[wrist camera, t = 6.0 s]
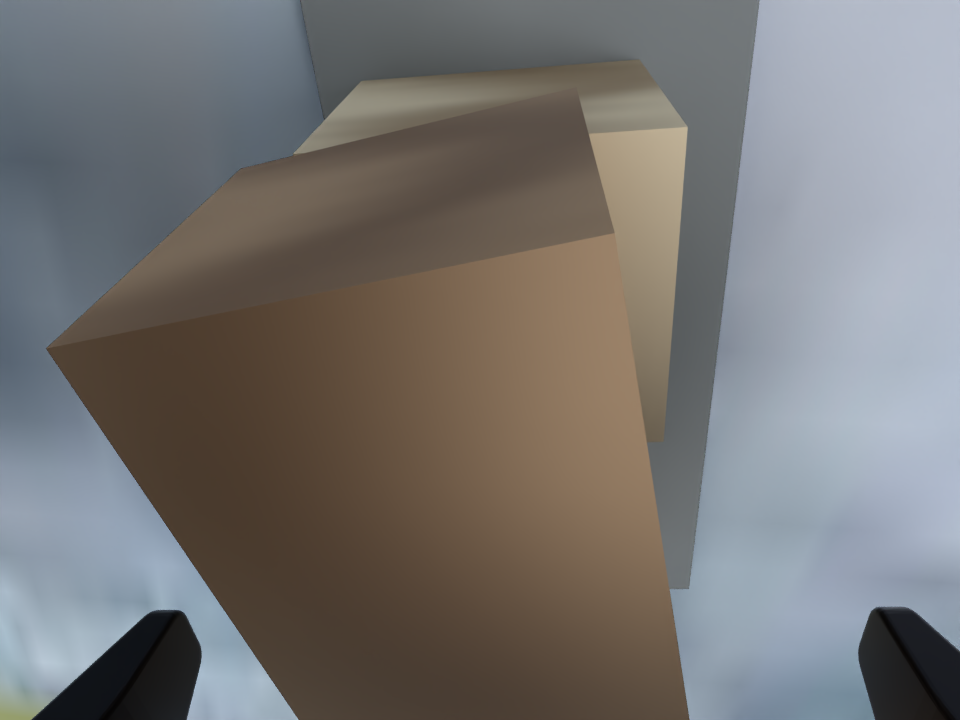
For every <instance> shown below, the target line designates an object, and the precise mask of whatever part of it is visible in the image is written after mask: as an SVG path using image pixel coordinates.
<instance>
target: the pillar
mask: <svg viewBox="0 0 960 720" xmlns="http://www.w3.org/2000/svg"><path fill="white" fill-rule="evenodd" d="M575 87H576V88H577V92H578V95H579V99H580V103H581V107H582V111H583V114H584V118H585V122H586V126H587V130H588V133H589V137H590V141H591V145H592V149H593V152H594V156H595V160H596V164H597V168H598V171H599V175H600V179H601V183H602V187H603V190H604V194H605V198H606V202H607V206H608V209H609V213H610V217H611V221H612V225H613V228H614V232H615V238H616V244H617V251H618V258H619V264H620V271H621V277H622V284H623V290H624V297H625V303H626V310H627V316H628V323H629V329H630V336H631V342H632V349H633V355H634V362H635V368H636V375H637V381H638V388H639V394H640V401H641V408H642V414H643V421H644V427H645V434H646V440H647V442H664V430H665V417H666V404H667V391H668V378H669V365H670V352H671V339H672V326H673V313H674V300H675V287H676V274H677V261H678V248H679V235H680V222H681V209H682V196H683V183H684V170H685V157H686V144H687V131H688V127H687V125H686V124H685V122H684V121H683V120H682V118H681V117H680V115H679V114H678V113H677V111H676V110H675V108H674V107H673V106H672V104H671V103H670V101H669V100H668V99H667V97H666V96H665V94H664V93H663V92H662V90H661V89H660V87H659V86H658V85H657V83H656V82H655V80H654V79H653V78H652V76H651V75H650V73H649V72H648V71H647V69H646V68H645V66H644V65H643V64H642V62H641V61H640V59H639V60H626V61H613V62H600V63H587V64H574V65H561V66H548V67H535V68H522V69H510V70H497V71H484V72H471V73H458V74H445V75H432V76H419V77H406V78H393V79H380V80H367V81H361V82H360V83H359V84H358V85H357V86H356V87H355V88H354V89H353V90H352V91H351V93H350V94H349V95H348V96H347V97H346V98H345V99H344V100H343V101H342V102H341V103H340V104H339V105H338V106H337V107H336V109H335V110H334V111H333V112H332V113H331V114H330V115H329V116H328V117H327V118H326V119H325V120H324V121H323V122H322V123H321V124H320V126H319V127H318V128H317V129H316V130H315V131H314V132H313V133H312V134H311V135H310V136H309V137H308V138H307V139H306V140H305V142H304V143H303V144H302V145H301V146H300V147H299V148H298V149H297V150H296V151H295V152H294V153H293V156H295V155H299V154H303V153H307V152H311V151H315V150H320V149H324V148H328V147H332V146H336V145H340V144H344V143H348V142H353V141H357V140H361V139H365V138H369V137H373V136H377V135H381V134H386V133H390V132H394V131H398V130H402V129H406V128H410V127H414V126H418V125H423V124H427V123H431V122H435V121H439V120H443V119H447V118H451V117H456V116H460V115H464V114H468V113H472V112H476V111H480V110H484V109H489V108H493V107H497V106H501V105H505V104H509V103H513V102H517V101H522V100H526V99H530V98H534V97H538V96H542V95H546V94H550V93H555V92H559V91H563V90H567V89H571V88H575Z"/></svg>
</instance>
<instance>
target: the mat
mask: <svg viewBox="0 0 960 720" xmlns="http://www.w3.org/2000/svg"><path fill="white" fill-rule="evenodd" d="M300 2H301V7H302V12H303V17H304V22H305V27H306V32H307V37H308V42H309V47H310V52H311V57H312V62H313V67H314V72H315V77H316V82H317V87H318V92H319V97H320V102H321V107H322V112H323V117H324V120H325V119H326V118H327V117H328V116H329V115H330V114H331V113H332V112H333V111H334V110H335V109H336V107H337V106H338V105H339V104H340V103H341V102H342V101H343V100H344V99H345V98H346V97H347V96H348V95H349V94H350V93H351V91H352V90H353V89H354V88H355V87H356V86H357V85H358V84H359V83H360V82H361V81H367V80H380V79H393V78H406V77H419V76H432V75H445V74H458V73H471V72H484V71H497V70H510V69H522V68H535V67H548V66H561V65H574V64H587V63H600V62H613V61H626V60H639V59H640V61H641V62H642V64H643V65H644V66H645V68H646V69H647V71H648V72H649V73H650V75H651V76H652V78H653V79H654V80H655V82H656V83H657V85H658V86H659V87H660V89H661V90H662V92H663V93H664V94H665V96H666V97H667V99H668V100H669V101H670V103H671V104H672V106H673V107H674V108H675V110H676V111H677V113H678V114H679V115H680V117H681V118H682V120H683V121H684V122H685V124H686V125H687V127H688V131H687V144H686V157H685V170H684V183H683V196H682V209H681V222H680V235H679V248H678V261H677V274H676V287H675V300H674V313H673V326H672V339H671V352H670V365H669V378H668V391H667V404H666V417H665V430H664V442H647V447H648V453H649V460H650V466H651V473H652V479H653V486H654V492H655V499H656V505H657V512H658V518H659V525H660V531H661V538H662V544H663V551H664V558H665V564H666V571H667V577H668V584H669V589H689V583H690V575H691V567H692V558H693V550H694V542H695V533H696V525H697V517H698V508H699V500H700V492H701V483H702V475H703V467H704V458H705V450H706V442H707V433H708V425H709V417H710V408H711V400H712V392H713V383H714V375H715V367H716V358H717V350H718V342H719V333H720V325H721V317H722V308H723V300H724V292H725V283H726V275H727V267H728V258H729V250H730V242H731V233H732V225H733V217H734V208H735V200H736V192H737V183H738V175H739V167H740V158H741V150H742V142H743V133H744V125H745V117H746V108H747V100H748V92H749V83H750V75H751V67H752V58H753V50H754V42H755V33H756V25H757V17H758V8H759V0H300Z"/></svg>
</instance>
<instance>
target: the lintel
mask: <svg viewBox="0 0 960 720" xmlns="http://www.w3.org/2000/svg"><path fill="white" fill-rule="evenodd" d="M46 349H47V351H48V352H49V354H50V355H51V357H52V358H53V360H54V361H55V363H56V364H57V365H58V367H59V368H60V370H61V371H62V373H63V374H64V376H65V377H66V379H67V380H68V382H69V383H70V385H71V386H72V387H73V389H74V390H75V392H76V393H77V395H78V396H79V398H80V399H81V401H82V402H83V404H84V405H85V407H86V408H87V410H88V411H89V412H90V414H91V415H92V417H93V418H94V420H95V421H96V423H97V424H98V426H99V427H100V429H101V430H102V432H103V433H104V434H105V436H106V437H107V439H108V440H109V442H110V443H111V445H112V446H113V448H114V449H115V451H116V452H117V454H118V455H119V457H120V458H121V459H122V461H123V462H124V464H125V465H126V467H127V468H128V470H129V471H130V473H131V474H132V476H133V477H134V479H135V480H136V481H137V483H138V484H139V486H140V487H141V489H142V490H143V492H144V493H145V495H146V496H147V498H148V499H149V501H150V502H151V503H152V505H153V506H154V508H155V509H156V511H157V512H158V514H159V515H160V517H161V518H162V520H163V521H164V523H165V524H166V526H167V527H168V528H169V530H170V531H171V533H172V534H173V536H174V537H175V539H176V540H177V542H178V543H179V545H180V546H181V548H182V549H183V550H184V552H185V553H186V555H187V556H188V558H189V559H190V561H191V562H192V564H193V565H194V567H195V568H196V570H197V571H198V573H199V574H200V575H201V577H202V578H203V580H204V581H205V583H206V584H207V586H208V587H209V589H210V590H211V592H212V593H213V595H214V596H215V597H216V599H217V600H218V602H219V603H220V605H221V606H222V608H223V609H224V611H225V612H226V614H227V615H228V617H229V618H230V619H231V621H232V622H233V624H234V625H235V627H236V628H237V630H238V631H239V633H240V634H241V636H242V637H243V639H244V640H245V642H246V643H247V644H248V646H249V647H250V649H251V650H252V652H253V653H254V655H255V656H256V658H257V659H258V661H259V662H260V664H261V665H262V666H263V668H264V669H265V671H266V672H267V674H268V675H269V677H270V678H271V680H272V681H273V683H274V684H275V686H276V687H277V689H278V690H279V691H280V693H281V694H282V696H283V697H284V699H285V700H286V702H287V703H288V705H289V706H290V708H291V709H292V711H293V712H294V713H295V715H296V716H297V718H298V719H299V720H689V714H688V708H687V701H686V694H685V688H684V681H683V675H682V668H681V662H680V655H679V649H678V642H677V636H676V629H675V623H674V616H673V610H672V603H671V597H670V590H669V584H668V577H667V571H666V564H665V558H664V551H663V544H662V538H661V531H660V525H659V518H658V512H657V505H656V499H655V492H654V486H653V479H652V473H651V466H650V460H649V453H648V447H647V440H646V434H645V427H644V421H643V414H642V408H641V401H640V394H639V388H638V381H637V375H636V368H635V362H634V355H633V349H632V342H631V336H630V329H629V323H628V316H627V310H626V303H625V297H624V290H623V284H622V277H621V271H620V264H619V258H618V251H617V244H616V238H615V232H614V228H613V225H612V221H611V217H610V213H609V209H608V206H607V202H606V198H605V194H604V190H603V187H602V183H601V179H600V175H599V171H598V168H597V164H596V160H595V156H594V152H593V149H592V145H591V141H590V137H589V133H588V130H587V126H586V122H585V118H584V114H583V111H582V107H581V103H580V99H579V95H578V92H577V88H576V87H575V88H571V89H567V90H563V91H559V92H555V93H550V94H546V95H542V96H538V97H534V98H530V99H526V100H522V101H517V102H513V103H509V104H505V105H501V106H497V107H493V108H489V109H484V110H480V111H476V112H472V113H468V114H464V115H460V116H456V117H451V118H447V119H443V120H439V121H435V122H431V123H427V124H423V125H418V126H414V127H410V128H406V129H402V130H398V131H394V132H390V133H386V134H381V135H377V136H373V137H369V138H365V139H361V140H357V141H353V142H348V143H344V144H340V145H336V146H332V147H328V148H324V149H320V150H315V151H311V152H307V153H303V154H299V155H295V156H291V157H287V158H282V159H278V160H274V161H270V162H266V163H262V164H258V165H254V166H249V167H245V168H241V169H240V170H239V171H238V172H237V173H236V174H234V175H233V176H232V177H231V178H230V179H229V180H228V181H227V182H226V183H225V184H224V185H223V186H221V187H220V188H219V189H218V190H217V191H216V192H215V193H214V194H213V195H212V196H211V197H210V198H208V199H207V200H206V201H205V202H204V203H203V204H202V205H201V206H200V207H199V208H198V209H197V210H195V211H194V212H193V213H192V214H191V215H190V216H189V217H188V218H187V219H186V220H185V221H184V222H182V223H181V224H180V225H179V226H178V227H177V228H176V229H175V230H174V231H173V232H172V233H171V234H169V235H168V236H167V237H166V238H165V239H164V240H163V241H162V242H161V243H160V244H159V245H158V246H156V247H155V248H154V249H153V250H152V251H151V252H150V253H149V254H148V255H147V256H146V257H145V258H143V259H142V260H141V261H140V262H139V263H138V264H137V265H136V266H135V267H134V268H133V269H132V270H130V271H129V272H128V273H127V274H126V275H125V276H124V277H123V278H122V279H121V280H120V281H119V282H117V283H116V284H115V285H114V286H113V287H112V288H111V289H110V290H109V291H108V292H107V293H106V294H104V295H103V296H102V297H101V298H100V299H99V300H98V301H97V302H96V303H95V304H94V305H93V306H91V307H90V308H89V309H88V310H87V311H86V312H85V313H84V314H83V315H82V316H81V317H80V318H78V319H77V320H76V321H75V322H74V323H73V324H72V325H71V326H70V327H69V328H68V329H67V330H65V331H64V332H63V333H62V334H61V335H60V336H59V337H58V338H57V339H56V340H55V341H54V342H52V343H51V344H50V345H49V346H48V347H47V348H46Z"/></svg>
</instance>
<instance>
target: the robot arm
mask: <svg viewBox="0 0 960 720" xmlns="http://www.w3.org/2000/svg"><path fill="white" fill-rule="evenodd" d="M858 656H859V664H860V668H861V671H862V675H863V678H864V682H865V685H866V689H867V692H868V696H869V699H870V703H871V706H872V710H873V714H874V717H875V720H960V651H959V650H958V649H957V648H955V647H954V646H953V645H952V644H951V643H950V642H949V641H948V640H946V639H945V638H944V637H943V636H942V635H941V634H940V633H939V632H937V631H936V630H935V629H934V628H933V627H932V626H931V625H929V624H928V623H927V622H926V621H925V620H924V619H923V618H922V617H920V616H919V615H918V614H917V613H916V612H914V611H913V610H911V609H909V608H906V607H876V608H875V609H873V610H872V611H871V613H870V615H869V618H868V621H867V624H866V627H865V629H864V632H863V635H862V638H861V641H860V644H859V650H858ZM201 657H202V653H201V646H200V643H199V641H198V639H197V637H196V635H195V633H194V631H193V629H192V627H191V625H190V623H189V621H188V619H187V617H186V615H185V614H184V613H183V612H182V611H180V610H156V611H152V612H150V613H149V614H147V615H146V616H144V617H143V618H142V619H141V620H140V621H139V622H138V623H137V624H136V625H135V626H133V627H132V628H131V629H130V630H129V631H128V632H127V633H126V634H125V635H124V636H122V637H121V638H120V639H119V640H118V641H117V642H116V643H115V644H114V645H113V646H112V647H110V648H109V649H108V650H107V651H106V652H105V653H104V654H103V655H102V656H101V657H100V658H98V659H97V660H96V661H95V662H94V663H93V664H92V665H91V666H90V667H89V668H87V669H86V670H85V671H84V672H83V673H82V674H81V675H80V676H79V677H78V678H77V679H75V680H74V681H73V682H72V683H71V684H70V685H69V686H68V687H67V688H66V689H64V690H63V691H62V692H61V693H60V694H59V695H58V696H57V697H56V698H55V699H54V700H52V701H51V702H50V703H49V704H48V705H47V706H46V707H45V708H44V709H43V710H41V711H40V712H39V713H38V714H37V715H36V716H35V717H34V718H33V719H32V720H187V716H188V712H189V708H190V704H191V700H192V696H193V692H194V688H195V684H196V680H197V676H198V672H199V668H200V664H201Z"/></svg>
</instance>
